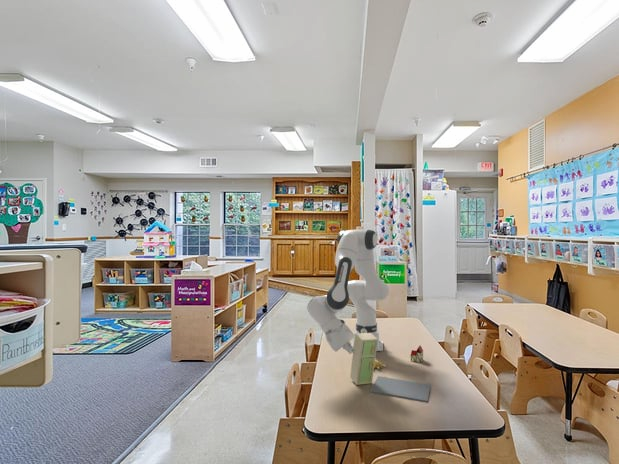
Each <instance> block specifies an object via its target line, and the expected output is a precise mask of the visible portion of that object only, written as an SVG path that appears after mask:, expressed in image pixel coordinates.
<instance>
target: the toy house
mask: <svg viewBox="0 0 619 464" xmlns="http://www.w3.org/2000/svg"><path fill="white" fill-rule="evenodd" d="M410 361H411V362H415V363H421V364H422V362H423V361H424V349H423V347H422V346H421V344H420V345H419V346H418V347H417V349H416V350H415V349H413V350H411V352H410Z"/></svg>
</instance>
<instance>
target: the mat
mask: <svg viewBox="0 0 619 464" xmlns="http://www.w3.org/2000/svg"><path fill="white" fill-rule="evenodd" d="M431 387H432V384H430V383H423V382H418V381H413V380H412V381H410V380H406V379H400V378H399V379H397V378H392V377H385V376H380V375H378V376H377V377H376V379H375V381H374V383H372V386H371V388H370V390H369V392H370V393H375V394H379V395H385V396H390V397H396V398H401V399H408V400H412V401H413V400H414V401H418V402H424V403H428V401H429V395H430V392H431V391H430V390H431Z"/></svg>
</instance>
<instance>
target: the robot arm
mask: <svg viewBox="0 0 619 464" xmlns="http://www.w3.org/2000/svg"><path fill="white" fill-rule="evenodd" d="M336 242H337V247H336V251H335V255H334V265H335V266H336V274H335V277H334V278H335V279H334V282H333V285H332V286H331V287H330V289H329V290H328V291H327V293H326V295H316V296H314V297H312V298H311V300H309V302H308V304H307V306H306V307H307V308H306V309H307V312H308V314H309V315H310V317H311V318H312V320H313V321H315V323H317V325H318V326H319V327H320V329H321V331H322V332H323V333H324V334H325V338H326V342H327V343H328V345H329V346H330V348H331V349H332V350H333V351H334V352H338V351H340V350H341V349H342V348H343V350H345V351H346V352H347V353H348V354H349V355H352V354H353V350H354V341H355V334H357V333H371V334H373V335H374V336H375V337H376V338H377V339H378V341H377V348H376V352H381V351H384V341H383V340H381V339H380V332H378V322H377V311H376V309H375V308H374V307H373V306H371V305H370V304H369V303H368V301H375V302H378V301H385V300H386V299H387V298H388V296H389V294H390V289H389V286H388V285H387V283H386V282H384V281H383V280H382V279H381V278H380V276H379V275H378V274H377V271H376V266H375V255H374V254H375V253H374V249H375V248H376V247H377V245H378V235H377V233H376V231H375V230H373V229H361V228H357V229H344V230H341V231H339V233H338V234H337V237H336ZM353 269H354V271H355V272H356V274H357V275H358V276H360V277H362V278H363V279H364V280H362V279H359V280H358V279H354V280H350V274H351V272H352V270H353ZM350 300H351V302H352V304H353V305H354V308H355V314H356V323H355V331H354V332H353V331H352V330H351V328H349V326H348V325H347V324H346V321H345V319H340V318H338V317H337V316H336V315H338V314H339V313H341V312H343V311H344V309H346V308H345V307H347V305H348V303H349V301H350ZM352 340H353V341H352ZM351 341H352V343H351Z"/></svg>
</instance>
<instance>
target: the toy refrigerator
mask: <svg viewBox="0 0 619 464" xmlns="http://www.w3.org/2000/svg"><path fill="white" fill-rule="evenodd" d="M377 341H378V339H377V338H376V337H375V336H374V335H373V334H371V333H357V334H355V341H354V348H353V349H354V350H353V353H352V358H351V366H350V375H349V377H350V379H351V380H352V381H353V383H354V384H355V385H356V386H361V385H367V384H369V385H370V384H373V378H374V370H375V368H374V363H375V359H376V357H377V356H376V354H377V351H376V348H377Z"/></svg>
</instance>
